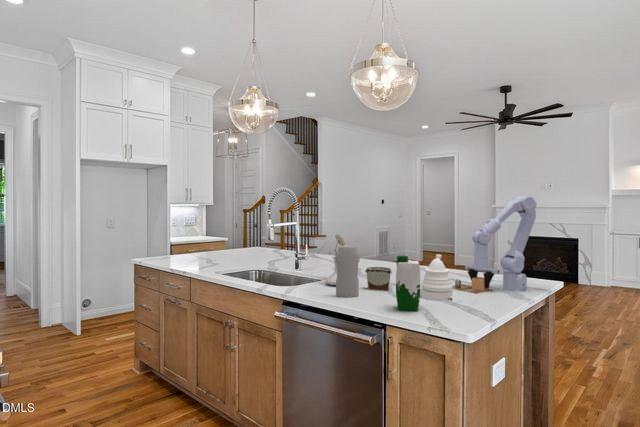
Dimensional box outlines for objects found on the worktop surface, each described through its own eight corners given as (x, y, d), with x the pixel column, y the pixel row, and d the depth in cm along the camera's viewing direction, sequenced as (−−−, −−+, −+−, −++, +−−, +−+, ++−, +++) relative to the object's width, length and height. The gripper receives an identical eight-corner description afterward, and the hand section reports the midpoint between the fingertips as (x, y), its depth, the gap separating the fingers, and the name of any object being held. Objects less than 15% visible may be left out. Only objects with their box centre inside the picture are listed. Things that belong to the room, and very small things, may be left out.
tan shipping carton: (489, 289, 182) (489, 278, 182) (482, 291, 179) (483, 279, 179) (478, 287, 187) (478, 276, 186) (471, 288, 183) (472, 278, 183)
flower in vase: (349, 287, 192) (349, 235, 191) (325, 287, 192) (325, 234, 191) (347, 281, 205) (348, 233, 204) (325, 281, 205) (325, 232, 204)
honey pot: (427, 292, 181) (427, 252, 181) (456, 296, 174) (456, 254, 173) (416, 297, 171) (417, 255, 170) (446, 302, 163) (447, 258, 163)
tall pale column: (335, 297, 170) (335, 246, 170) (334, 295, 175) (334, 245, 174) (360, 297, 171) (360, 245, 171) (358, 295, 175) (358, 244, 175)
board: (493, 292, 182) (493, 289, 182) (476, 296, 173) (476, 293, 173) (462, 286, 195) (462, 283, 195) (444, 290, 186) (444, 287, 186)
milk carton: (395, 305, 158) (396, 254, 158) (419, 306, 157) (419, 255, 156) (395, 311, 150) (396, 257, 149) (420, 312, 148) (421, 258, 148)
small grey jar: (462, 287, 185) (462, 279, 185) (458, 288, 184) (459, 280, 184) (457, 286, 187) (457, 278, 187) (453, 287, 186) (454, 279, 186)
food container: (393, 288, 189) (393, 267, 189) (391, 291, 183) (391, 269, 183) (367, 286, 193) (368, 266, 193) (365, 289, 187) (365, 268, 187)
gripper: (461, 256, 186) (461, 285, 186) (491, 260, 174) (491, 291, 175) (470, 255, 190) (469, 283, 190) (499, 258, 179) (499, 289, 179)
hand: (480, 287), depth 183 cm, fingers closed on tan shipping carton, 5 cm apart
